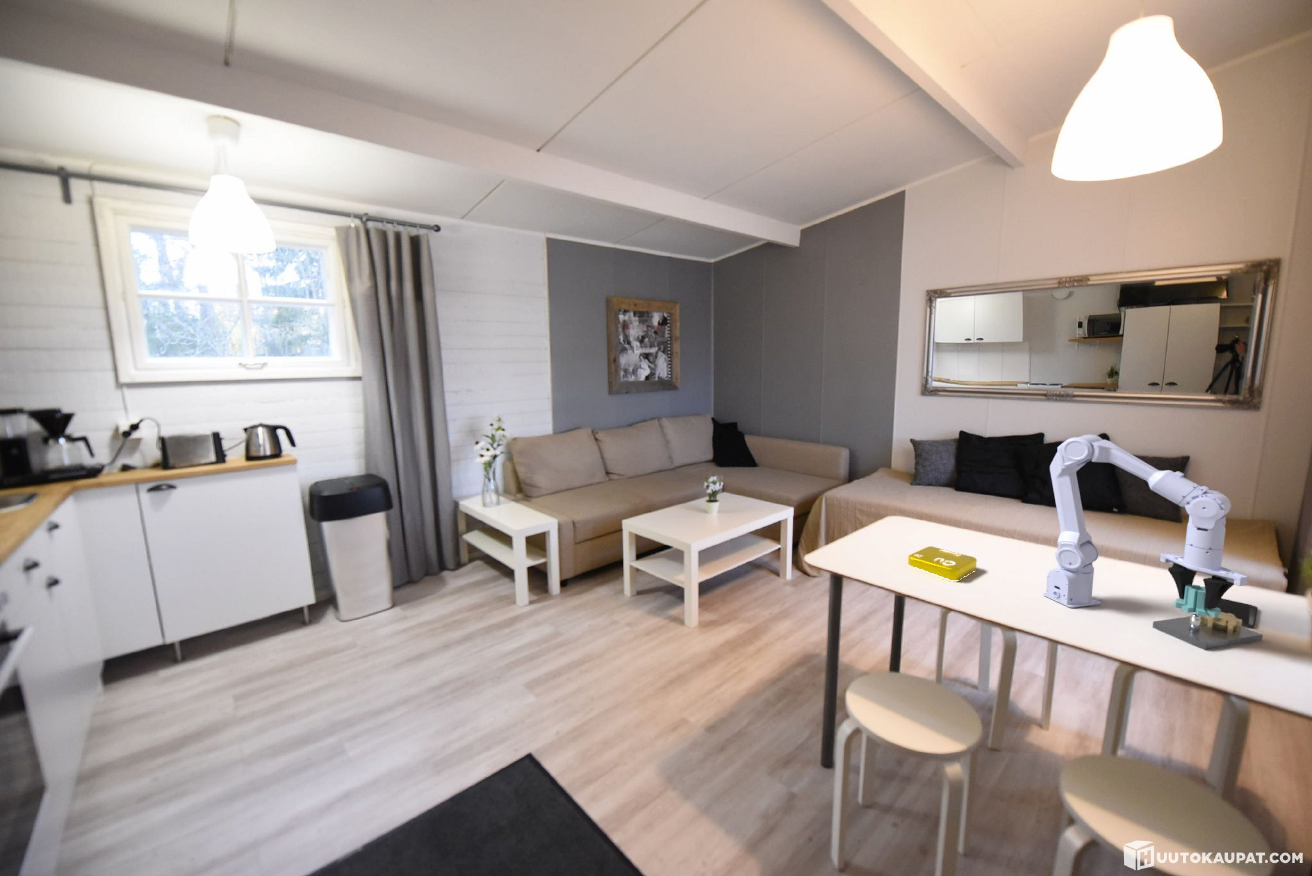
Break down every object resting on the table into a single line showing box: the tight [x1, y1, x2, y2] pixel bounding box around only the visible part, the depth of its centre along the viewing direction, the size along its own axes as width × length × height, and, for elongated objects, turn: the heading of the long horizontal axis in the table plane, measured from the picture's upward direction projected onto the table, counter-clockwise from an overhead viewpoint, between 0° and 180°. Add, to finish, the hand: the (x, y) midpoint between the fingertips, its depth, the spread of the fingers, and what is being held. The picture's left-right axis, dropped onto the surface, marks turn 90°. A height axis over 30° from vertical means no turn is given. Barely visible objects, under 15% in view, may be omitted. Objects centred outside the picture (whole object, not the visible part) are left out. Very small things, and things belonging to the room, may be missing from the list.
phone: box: [1217, 598, 1259, 630], centre depth 124 cm, size 8×1×15 cm
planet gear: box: [1174, 584, 1221, 618], centre depth 113 cm, size 7×7×5 cm
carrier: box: [1152, 612, 1264, 651], centre depth 115 cm, size 16×10×5 cm, turn 100°
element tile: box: [907, 546, 978, 580], centre depth 156 cm, size 15×15×5 cm
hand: (1197, 603), depth 114 cm, fingers closed on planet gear, 4 cm apart
